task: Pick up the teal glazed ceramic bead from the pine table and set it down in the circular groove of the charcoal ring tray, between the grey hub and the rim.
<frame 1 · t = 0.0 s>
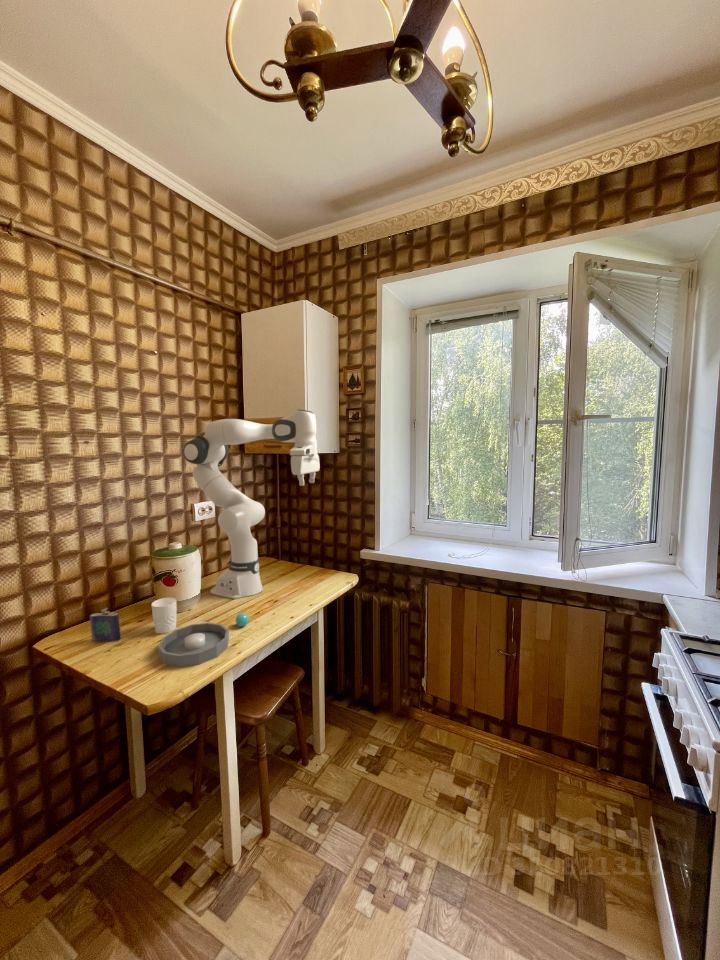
hand: (307, 484, 156), 48 cm above the table, fingers open, 8 cm apart
bead: (242, 619, 136), point 2 cm above the table
flask: (106, 640, 128), on the table
ring tray: (195, 648, 122), on the table
white cup: (165, 629, 135), on the table
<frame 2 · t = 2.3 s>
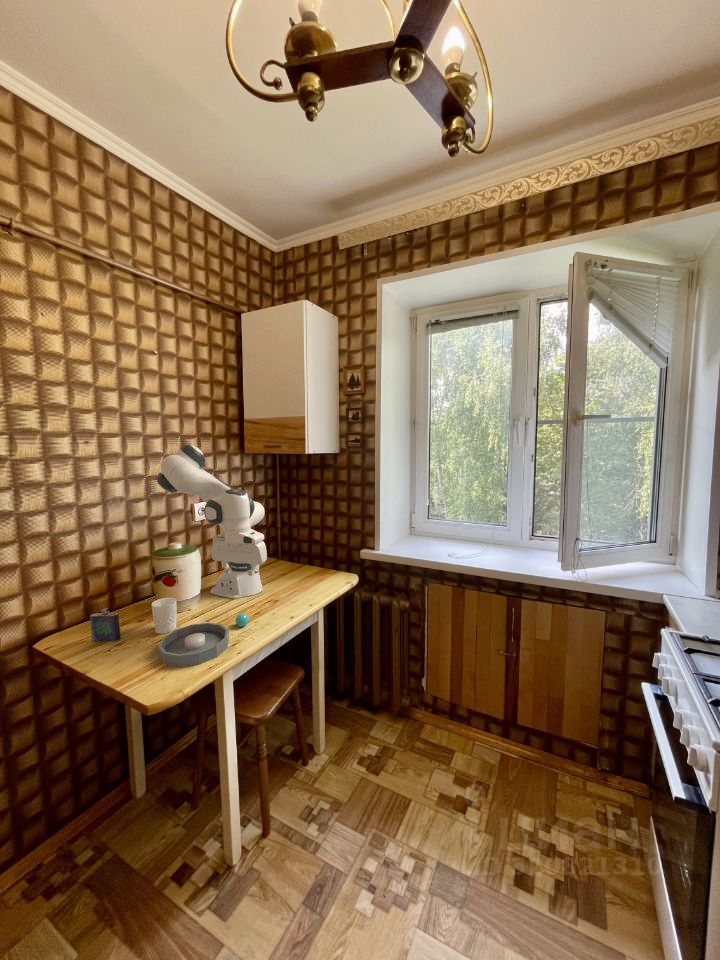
hand: (239, 574, 135), 19 cm above the table, fingers open, 8 cm apart
nothing on the table moved.
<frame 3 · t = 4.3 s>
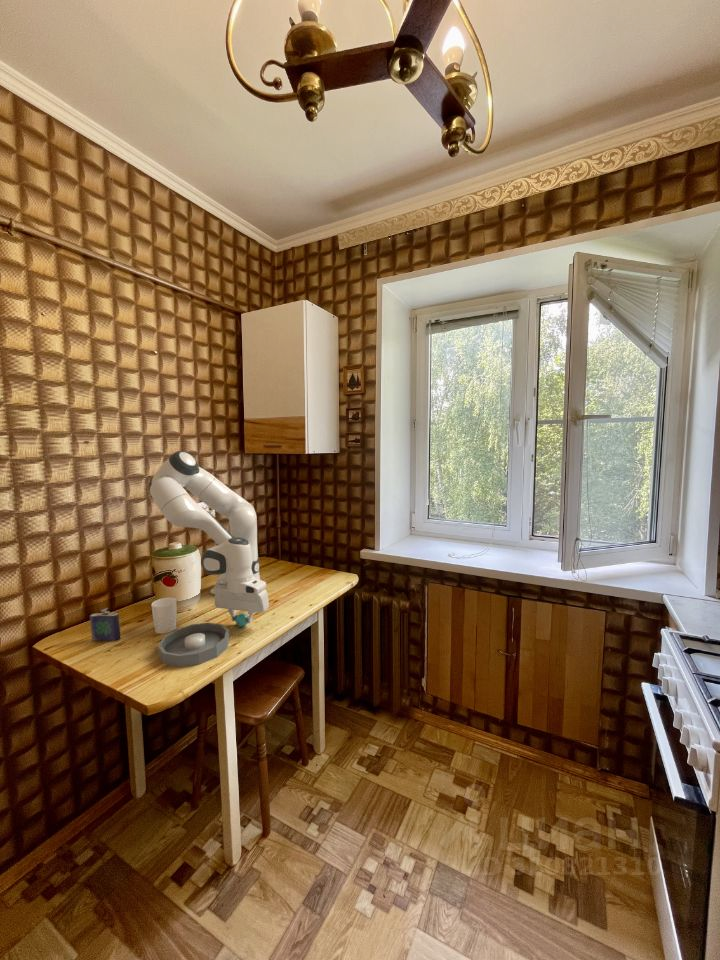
hand: (242, 621, 136), 2 cm above the table, fingers closed on bead, 4 cm apart
bead: (242, 619, 136), point 2 cm above the table, touching gripper
everything else where it was.
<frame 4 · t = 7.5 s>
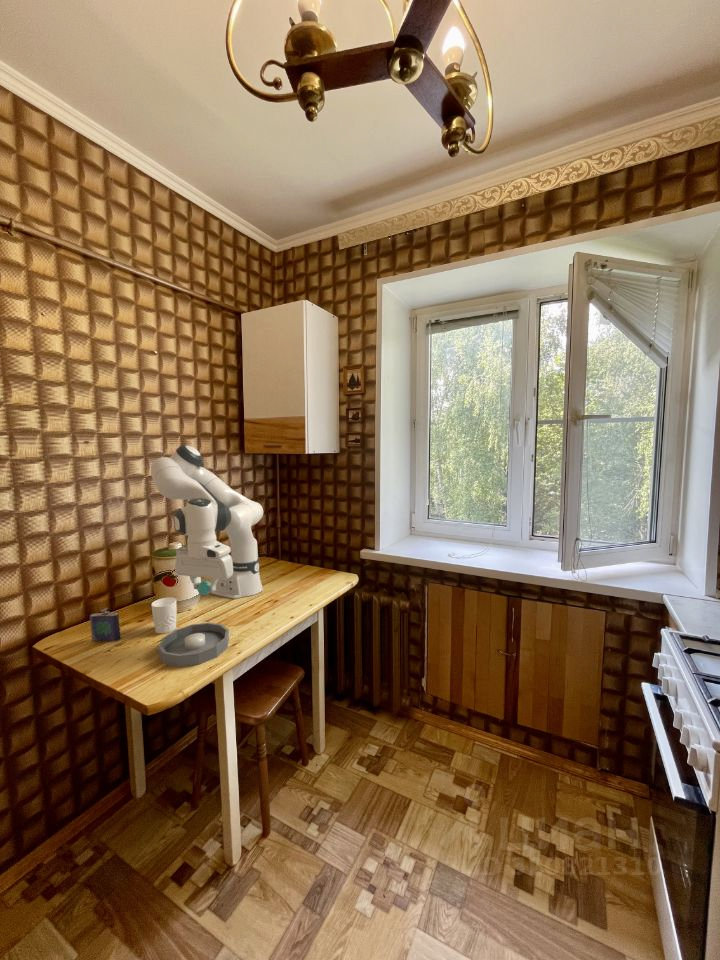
hand: (204, 589, 126), 17 cm above the table, fingers closed on bead, 4 cm apart
bead: (204, 587, 126), point 18 cm above the table, touching gripper
everything else where it was.
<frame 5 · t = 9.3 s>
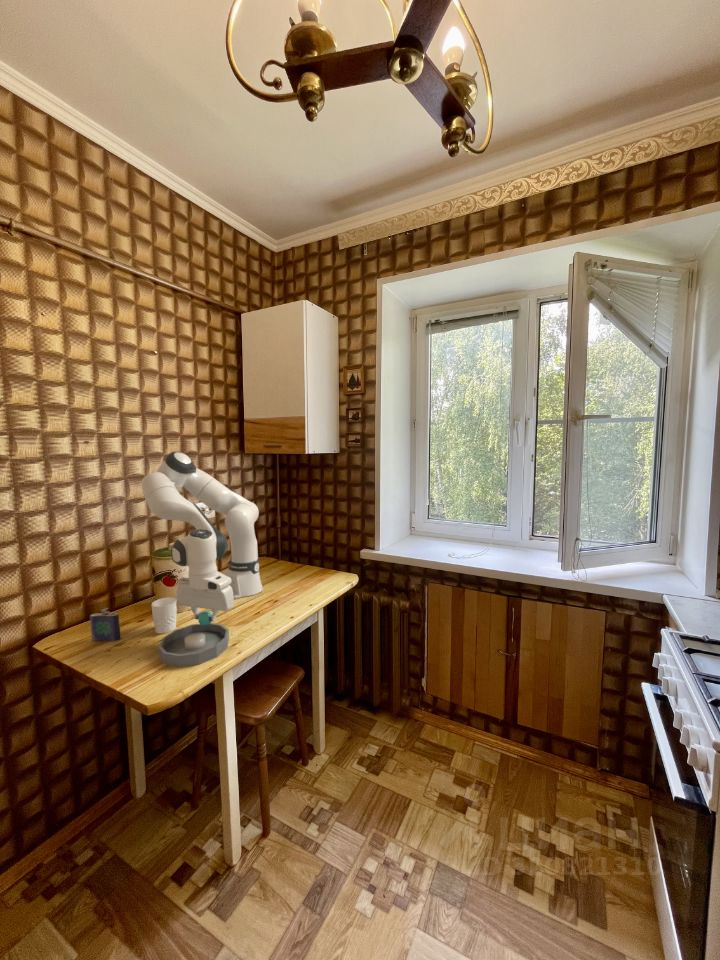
hand: (205, 619, 127), 7 cm above the table, fingers closed on bead, 4 cm apart
bead: (205, 618, 127), point 7 cm above the table, touching gripper
everything else where it was.
when the fingers open (4 cm above the table, at t = 10.7 s): bead drops 1 cm, resting on ring tray.
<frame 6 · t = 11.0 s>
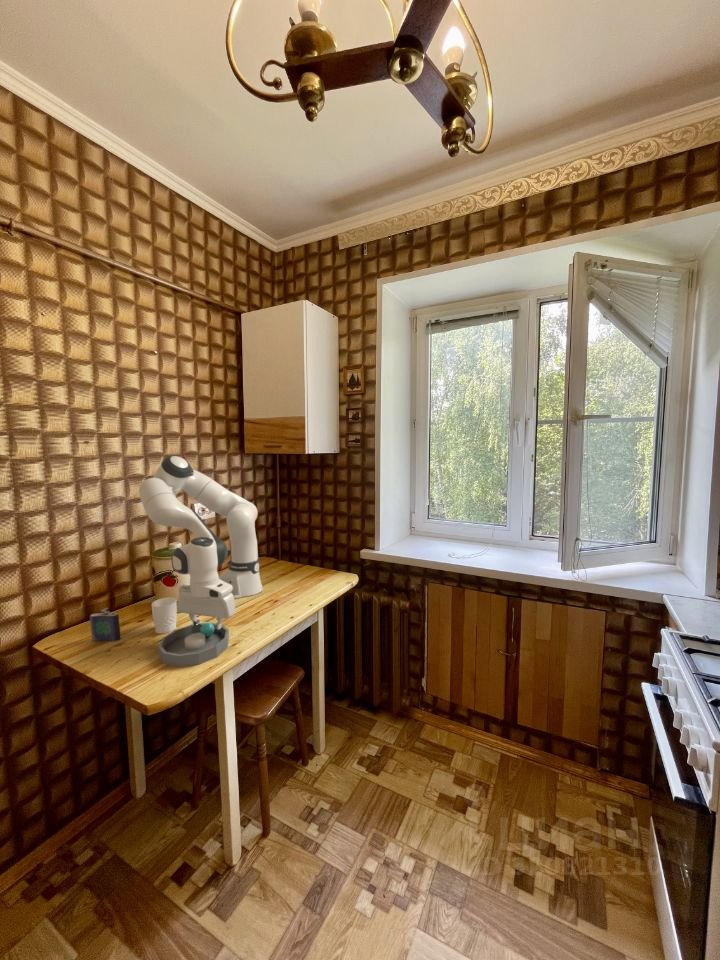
hand: (207, 627, 127), 4 cm above the table, fingers open, 7 cm apart
bead: (207, 629, 127), point 3 cm above the table, touching ring tray
everything else where it was.
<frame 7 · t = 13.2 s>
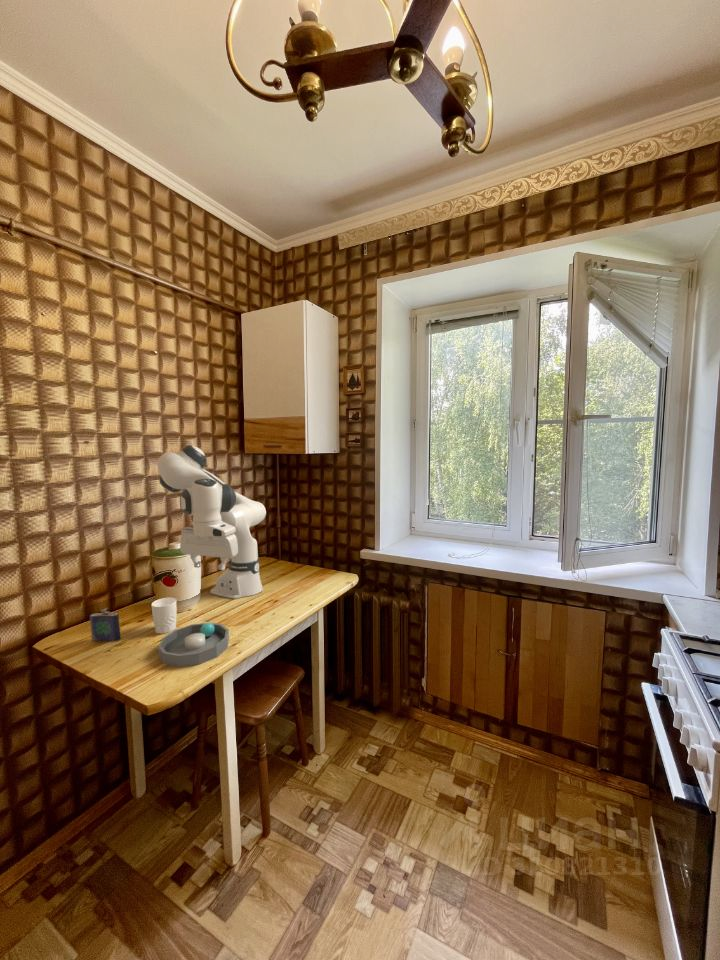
hand: (209, 568, 129), 23 cm above the table, fingers open, 8 cm apart
nothing on the table moved.
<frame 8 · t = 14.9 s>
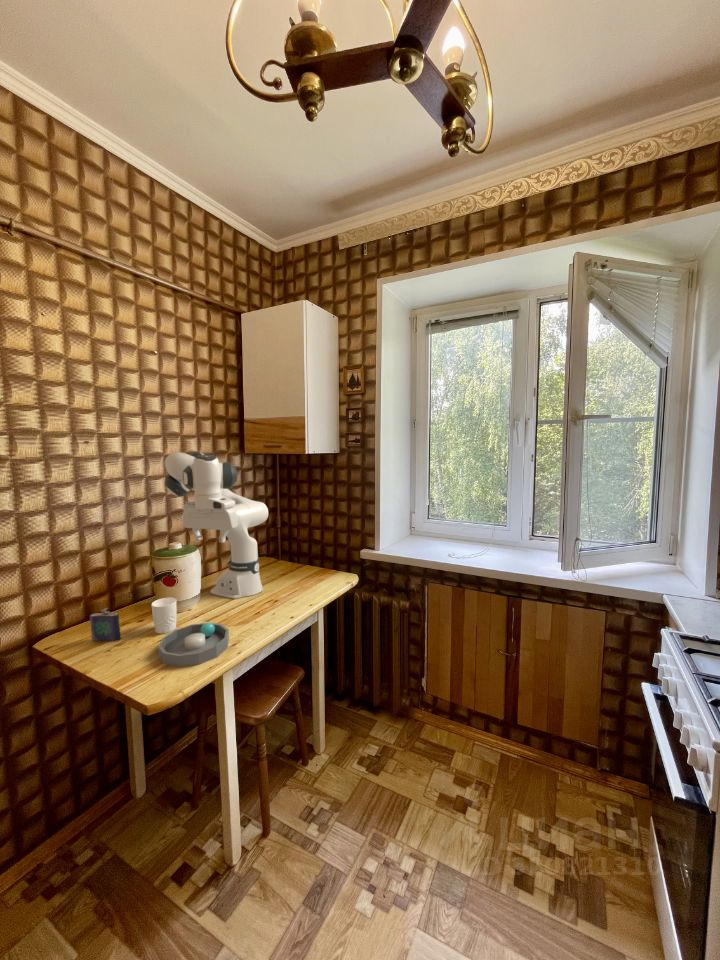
hand: (210, 541, 133), 31 cm above the table, fingers open, 8 cm apart
nothing on the table moved.
at the end: bead 0.2 cm from the target spot on the ring tray, point 3.2 cm above the ring tray's base; the gripper is holding nothing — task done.
